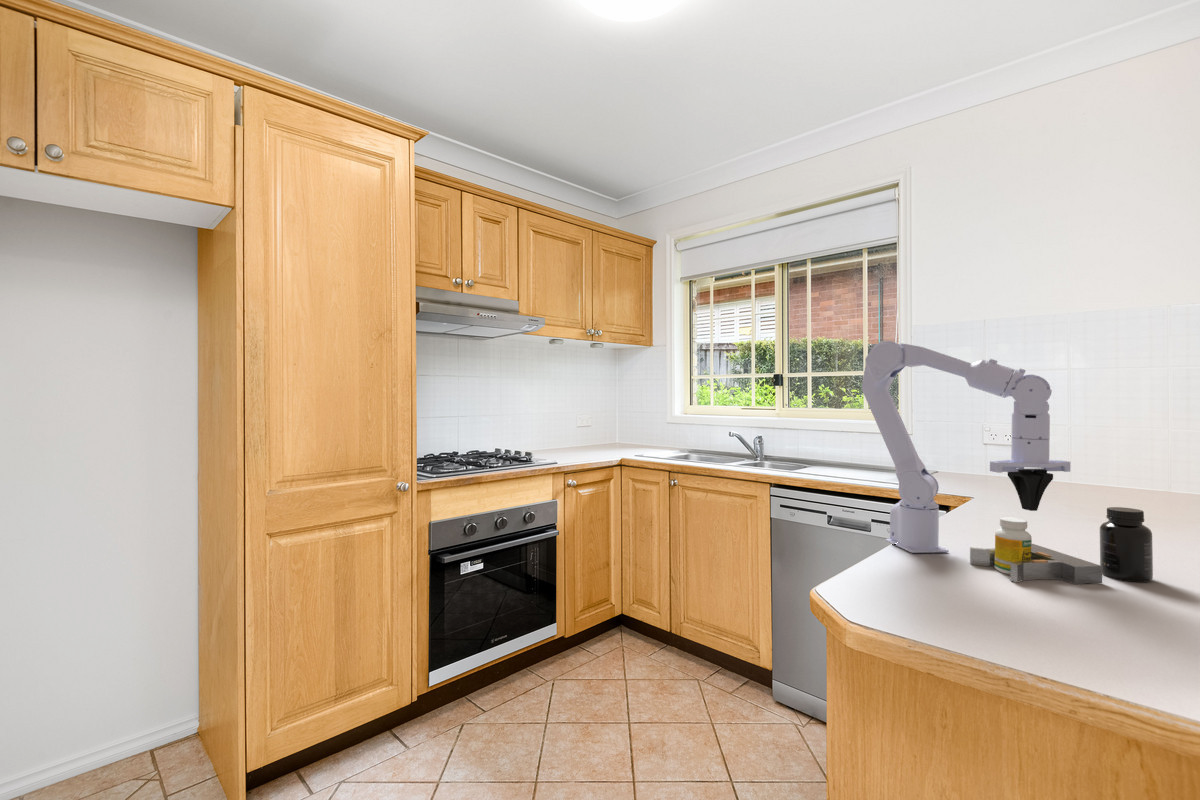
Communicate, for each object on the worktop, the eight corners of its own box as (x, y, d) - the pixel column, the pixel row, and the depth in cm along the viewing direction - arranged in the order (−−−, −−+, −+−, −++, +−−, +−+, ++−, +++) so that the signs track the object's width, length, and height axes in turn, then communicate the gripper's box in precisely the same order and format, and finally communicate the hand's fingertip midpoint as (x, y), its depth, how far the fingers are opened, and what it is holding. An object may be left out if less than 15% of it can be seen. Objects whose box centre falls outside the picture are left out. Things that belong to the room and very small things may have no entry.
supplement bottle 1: (999, 564, 105) (1000, 514, 105) (1034, 572, 101) (1035, 519, 101) (990, 570, 102) (991, 518, 102) (1026, 578, 98) (1027, 524, 98)
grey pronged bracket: (962, 560, 108) (962, 544, 108) (1033, 559, 109) (1033, 542, 109) (1021, 585, 94) (1021, 566, 94) (1102, 583, 95) (1102, 564, 95)
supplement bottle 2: (1130, 571, 102) (1131, 505, 102) (1164, 584, 95) (1164, 513, 95) (1089, 570, 102) (1089, 505, 102) (1120, 582, 96) (1120, 513, 95)
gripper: (1010, 440, 101) (1010, 514, 101) (1085, 439, 102) (1085, 513, 102) (981, 437, 108) (981, 506, 108) (1052, 436, 109) (1051, 505, 109)
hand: (1029, 509), depth 106 cm, fingers closed
